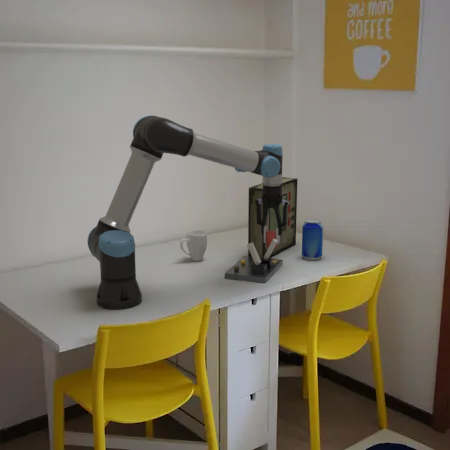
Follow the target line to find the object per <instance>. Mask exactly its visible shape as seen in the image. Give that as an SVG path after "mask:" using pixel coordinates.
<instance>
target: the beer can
mask: <svg viewBox="0 0 450 450" xmlns="http://www.w3.org/2000/svg"><path fill="white" fill-rule="evenodd" d="M301 231H302V236H301V237H302V238H301V256H302V258H303V259H304V260H307V261H319V260H320V259H321V258H322V256H323V246H324V245H323V244H324V241H323V240H324V225H323V223H322V220H321V219H317V218H308V219H305V220H304V223H303V224H302V230H301Z"/></svg>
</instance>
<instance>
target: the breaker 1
mask: <svg viewBox="0 0 450 450" xmlns="http://www.w3.org/2000/svg"><path fill="white" fill-rule="evenodd" d="M248 248H249V251H250V253H251V255H252V258H253V260H254V262H255V265H257V266H258V265H259V264H260V263H261V260H260V258H259V255H258V253H257V251H256V248H255V246H254V244H253V242H252V243H249V244H248V243H247V249H248Z"/></svg>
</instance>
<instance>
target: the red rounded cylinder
mask: <svg viewBox="0 0 450 450" xmlns="http://www.w3.org/2000/svg"><path fill="white" fill-rule="evenodd" d="M273 239H276V231H267V232H266V247H268V248H269V246H270V244H271V242H272V240H273ZM276 247H277V244H276V245H275V247H274V248H276Z"/></svg>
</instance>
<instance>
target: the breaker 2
mask: <svg viewBox="0 0 450 450" xmlns="http://www.w3.org/2000/svg"><path fill="white" fill-rule="evenodd" d="M277 241H278V240H276V239H273V240H272V242H271V244H270V246H269V248H268V250H267V252H266V254H265V256H264V259H265V260H267V259H268V258H269V257H270V255H271V253H272V251H273V249H274V247H275V245H276V243H277Z"/></svg>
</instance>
